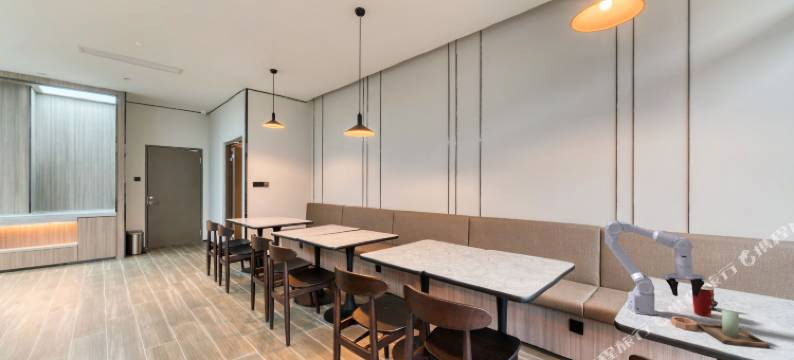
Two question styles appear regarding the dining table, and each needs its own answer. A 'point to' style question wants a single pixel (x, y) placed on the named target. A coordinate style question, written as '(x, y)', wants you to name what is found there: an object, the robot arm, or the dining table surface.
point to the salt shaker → (714, 303)
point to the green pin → (730, 323)
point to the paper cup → (703, 301)
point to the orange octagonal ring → (684, 323)
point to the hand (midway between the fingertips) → (685, 295)
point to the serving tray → (743, 339)
